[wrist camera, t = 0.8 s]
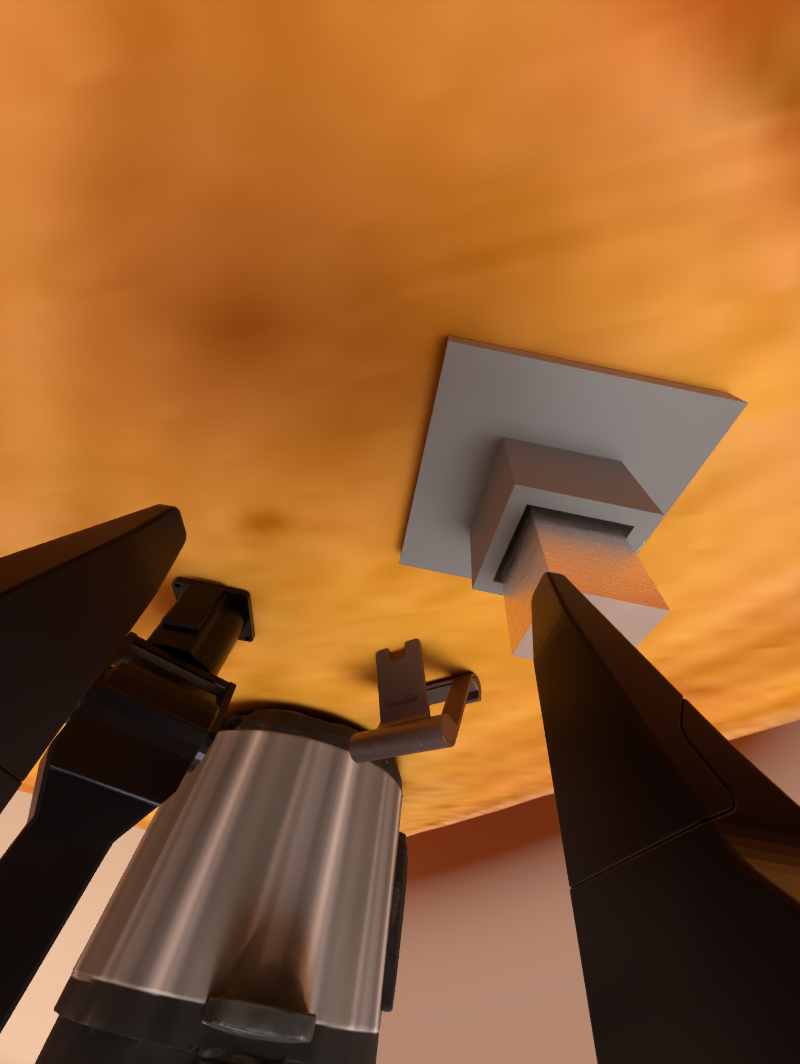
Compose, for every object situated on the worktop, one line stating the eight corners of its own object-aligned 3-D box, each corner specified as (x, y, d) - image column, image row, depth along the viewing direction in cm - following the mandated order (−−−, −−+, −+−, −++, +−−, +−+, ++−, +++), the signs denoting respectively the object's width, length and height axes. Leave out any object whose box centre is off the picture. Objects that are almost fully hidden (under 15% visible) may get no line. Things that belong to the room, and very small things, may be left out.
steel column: (559, 535, 22) (610, 676, 15) (492, 521, 22) (510, 656, 15) (591, 476, 20) (672, 610, 12) (516, 461, 20) (552, 585, 12)
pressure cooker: (294, 801, 62) (184, 1173, 37) (156, 719, 49) (-158, 1206, 24) (456, 786, 50) (456, 1318, 25) (331, 673, 37) (72, 1537, 12)
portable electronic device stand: (404, 698, 39) (393, 790, 32) (357, 657, 35) (335, 750, 29) (480, 679, 35) (486, 778, 28) (437, 630, 32) (431, 730, 25)
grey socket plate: (592, 589, 27) (625, 669, 21) (401, 549, 27) (388, 621, 21) (728, 393, 18) (837, 448, 13) (448, 335, 18) (445, 367, 13)
